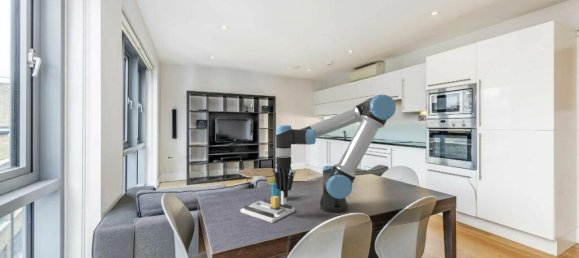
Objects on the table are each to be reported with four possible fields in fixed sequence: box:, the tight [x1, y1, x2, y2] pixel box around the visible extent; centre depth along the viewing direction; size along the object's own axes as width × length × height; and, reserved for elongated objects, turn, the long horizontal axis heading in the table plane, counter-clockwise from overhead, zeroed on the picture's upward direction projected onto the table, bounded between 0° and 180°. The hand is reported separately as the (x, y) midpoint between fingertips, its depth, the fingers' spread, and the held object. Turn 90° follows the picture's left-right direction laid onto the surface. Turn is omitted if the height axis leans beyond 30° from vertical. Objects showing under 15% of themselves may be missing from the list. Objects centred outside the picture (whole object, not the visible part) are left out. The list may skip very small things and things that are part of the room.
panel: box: [240, 198, 296, 223], centre depth 123 cm, size 22×18×3 cm
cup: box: [265, 176, 281, 202], centre depth 142 cm, size 14×8×15 cm, turn 104°
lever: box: [270, 196, 280, 210], centre depth 120 cm, size 4×3×7 cm
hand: (283, 203), depth 116 cm, fingers closed
